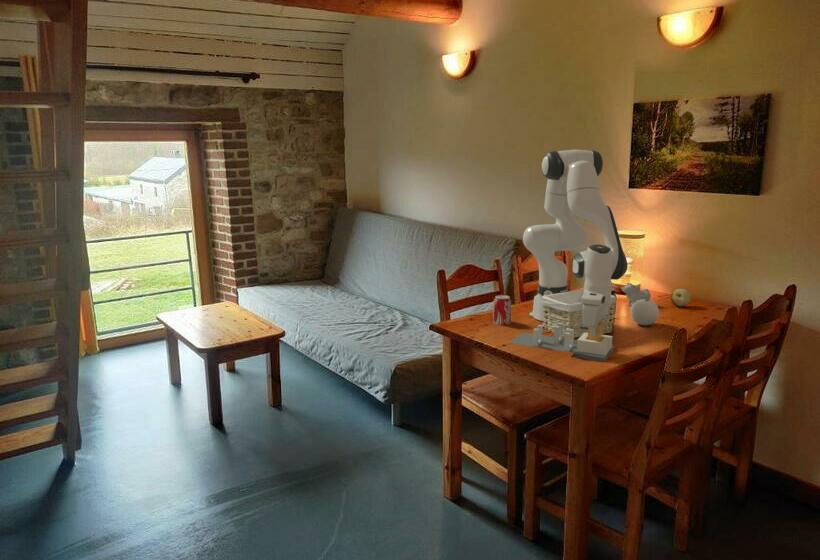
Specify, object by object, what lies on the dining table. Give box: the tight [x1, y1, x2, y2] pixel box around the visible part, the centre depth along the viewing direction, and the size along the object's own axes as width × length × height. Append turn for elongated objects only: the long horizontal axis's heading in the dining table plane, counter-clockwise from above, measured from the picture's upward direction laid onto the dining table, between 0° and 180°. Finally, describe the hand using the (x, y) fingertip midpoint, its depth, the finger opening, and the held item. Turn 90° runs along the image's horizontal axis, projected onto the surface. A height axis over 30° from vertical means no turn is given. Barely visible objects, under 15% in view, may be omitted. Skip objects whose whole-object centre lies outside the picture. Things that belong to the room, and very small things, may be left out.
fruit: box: [670, 288, 692, 308], centre depth 263 cm, size 8×8×8 cm
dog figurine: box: [621, 282, 652, 309], centre depth 264 cm, size 5×13×11 cm, turn 95°
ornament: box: [630, 295, 660, 327], centre depth 236 cm, size 10×10×12 cm
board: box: [509, 323, 615, 363], centre depth 211 cm, size 14×33×8 cm, turn 60°
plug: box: [580, 322, 604, 341], centre depth 205 cm, size 4×7×8 cm, turn 60°
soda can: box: [492, 294, 512, 326], centre depth 238 cm, size 7×7×12 cm
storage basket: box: [542, 288, 617, 339], centre depth 227 cm, size 24×16×15 cm
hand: (595, 333), depth 204 cm, fingers open, 4 cm apart
